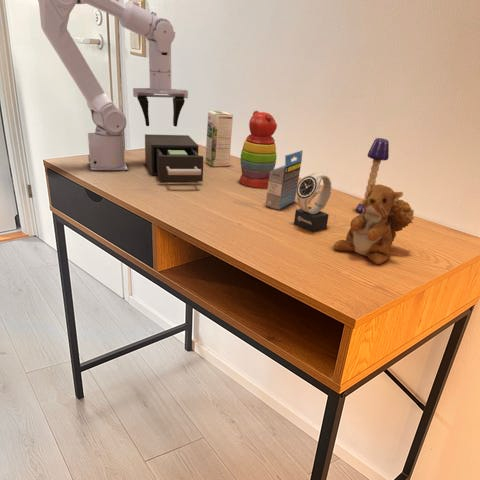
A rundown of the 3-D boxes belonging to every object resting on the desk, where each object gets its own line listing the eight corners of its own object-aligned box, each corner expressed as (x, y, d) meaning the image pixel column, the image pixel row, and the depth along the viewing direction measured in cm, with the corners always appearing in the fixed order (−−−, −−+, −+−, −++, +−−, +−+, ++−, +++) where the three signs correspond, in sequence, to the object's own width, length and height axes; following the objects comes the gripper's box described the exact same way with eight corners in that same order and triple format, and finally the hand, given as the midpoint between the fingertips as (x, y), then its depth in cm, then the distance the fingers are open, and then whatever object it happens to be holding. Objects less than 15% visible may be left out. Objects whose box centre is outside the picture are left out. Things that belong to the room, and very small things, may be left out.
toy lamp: (376, 210, 118) (392, 138, 110) (375, 216, 114) (392, 142, 106) (356, 207, 119) (370, 135, 111) (354, 213, 115) (369, 139, 107)
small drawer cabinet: (197, 175, 134) (198, 145, 130) (151, 175, 130) (151, 144, 126) (187, 163, 144) (188, 135, 140) (145, 163, 141) (144, 134, 137)
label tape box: (281, 198, 121) (287, 146, 115) (296, 201, 120) (303, 149, 113) (264, 206, 115) (270, 152, 108) (280, 210, 113) (286, 155, 107)
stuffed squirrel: (329, 250, 94) (341, 181, 88) (369, 235, 103) (383, 172, 96) (373, 268, 88) (390, 196, 82) (411, 250, 97) (430, 184, 91)
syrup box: (204, 162, 147) (206, 110, 140) (222, 161, 150) (225, 110, 142) (211, 166, 143) (214, 113, 136) (230, 166, 145) (233, 113, 138)
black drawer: (207, 187, 122) (208, 161, 119) (162, 187, 119) (161, 161, 116) (192, 169, 136) (193, 145, 133) (152, 168, 133) (151, 145, 130)
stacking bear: (284, 186, 130) (293, 115, 121) (252, 190, 125) (259, 115, 116) (261, 176, 138) (268, 108, 129) (230, 179, 133) (235, 108, 124)
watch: (287, 225, 105) (294, 173, 99) (312, 219, 109) (320, 169, 104) (306, 233, 101) (314, 180, 96) (332, 227, 106) (341, 175, 100)
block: (170, 174, 126) (170, 154, 123) (167, 169, 129) (167, 150, 127) (187, 174, 127) (187, 154, 124) (184, 169, 131) (184, 150, 128)
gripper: (134, 71, 124) (136, 128, 131) (190, 73, 128) (189, 128, 135) (131, 68, 130) (133, 123, 137) (185, 71, 134) (185, 123, 141)
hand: (161, 125), depth 136 cm, fingers open, 7 cm apart
